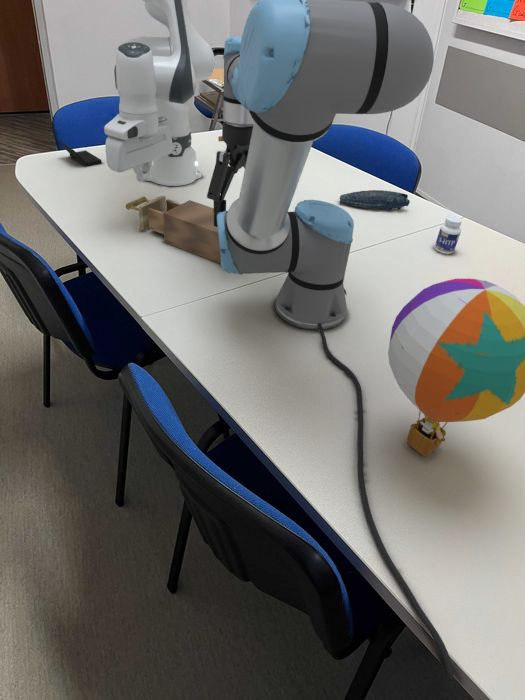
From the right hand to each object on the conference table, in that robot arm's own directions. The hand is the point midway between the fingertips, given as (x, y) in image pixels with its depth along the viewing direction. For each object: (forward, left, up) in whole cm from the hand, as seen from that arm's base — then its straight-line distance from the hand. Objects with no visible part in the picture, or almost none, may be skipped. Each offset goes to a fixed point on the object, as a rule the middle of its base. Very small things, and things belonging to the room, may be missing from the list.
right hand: (236, 217), depth 122 cm
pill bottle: (+20, -54, -10) cm, 58 cm away
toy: (-53, -41, -11) cm, 68 cm away
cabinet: (+3, +7, -10) cm, 13 cm away
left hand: (+11, +26, +1) cm, 29 cm away
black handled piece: (+50, +62, -11) cm, 80 cm away
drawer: (+8, +18, -10) cm, 22 cm away
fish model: (+44, -35, -10) cm, 57 cm away
